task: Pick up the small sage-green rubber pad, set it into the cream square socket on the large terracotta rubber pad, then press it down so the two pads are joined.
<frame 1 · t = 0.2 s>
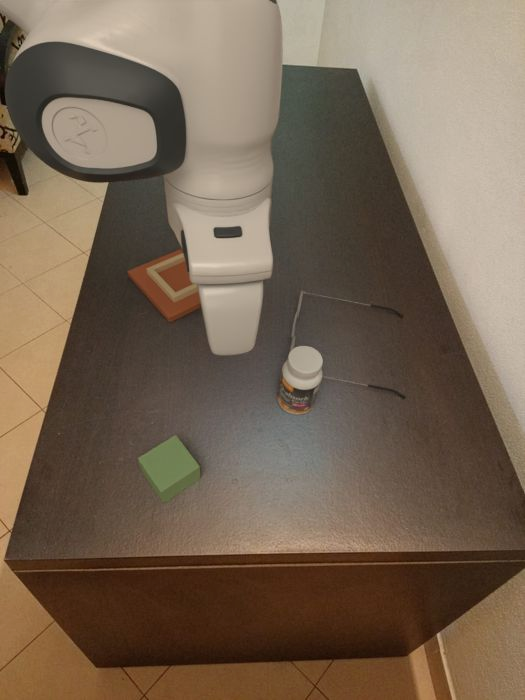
hand: (219, 313, 50), 22 cm above the table, tool pointing down, fingers open, 8 cm apart
eyeglasses: (346, 346, 78), on the table
pill bottle: (295, 400, 70), on the table
green pad: (170, 474, 61), on the table
base pad: (182, 283, 84), on the table
calculator: (202, 142, 117), on the table
supplement box: (230, 222, 97), on the table
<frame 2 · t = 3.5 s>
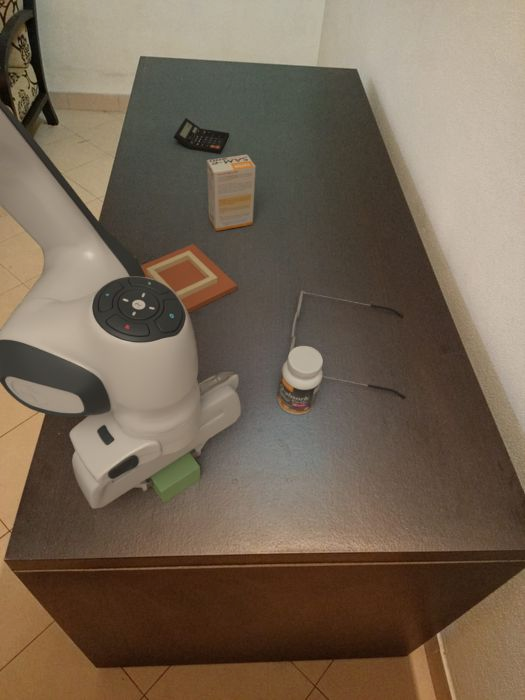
hand: (169, 468, 60), 2 cm above the table, tool pointing down, fingers closed on green pad, 5 cm apart
green pad: (171, 474, 61), on the table, touching gripper
everything else where it was.
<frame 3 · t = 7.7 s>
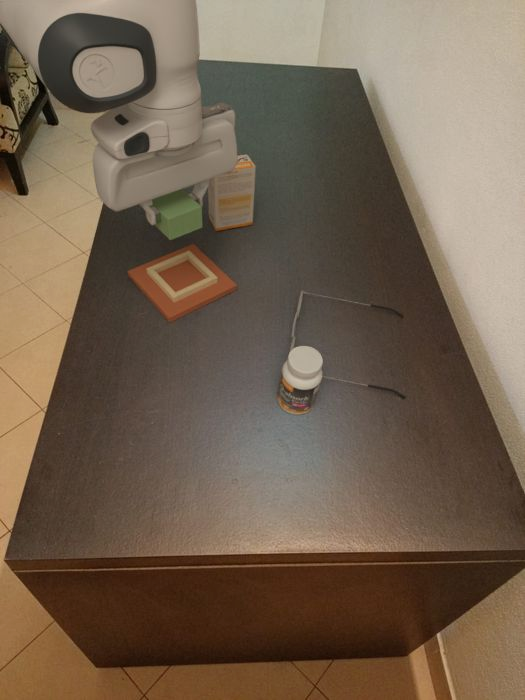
hand: (175, 214, 68), 17 cm above the table, tool pointing down, fingers closed on green pad, 5 cm apart
green pad: (176, 224, 70), point 16 cm above the table, touching gripper
everything else where it was.
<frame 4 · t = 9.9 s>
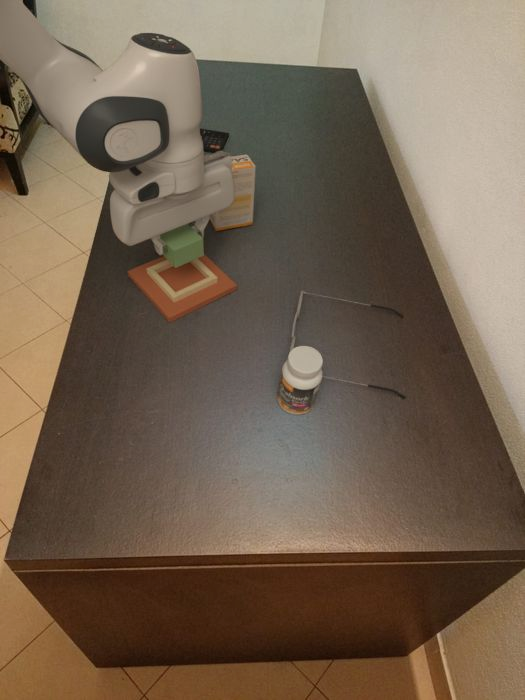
hand: (179, 244, 78), 9 cm above the table, tool pointing down, fingers closed on green pad, 5 cm apart
green pad: (180, 252, 79), point 7 cm above the table, touching gripper
everything else where it was.
when the fingers open (3 cm above the table, at t = 11.8 s): green pad stays where it is, resting on base pad.
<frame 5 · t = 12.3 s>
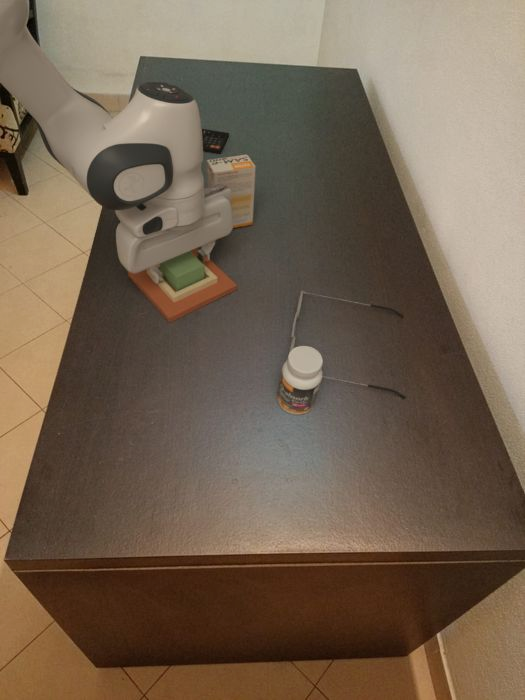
hand: (181, 269, 82), 3 cm above the table, tool pointing down, fingers open, 8 cm apart
green pad: (182, 278, 83), point 1 cm above the table, touching base pad
everything else where it was.
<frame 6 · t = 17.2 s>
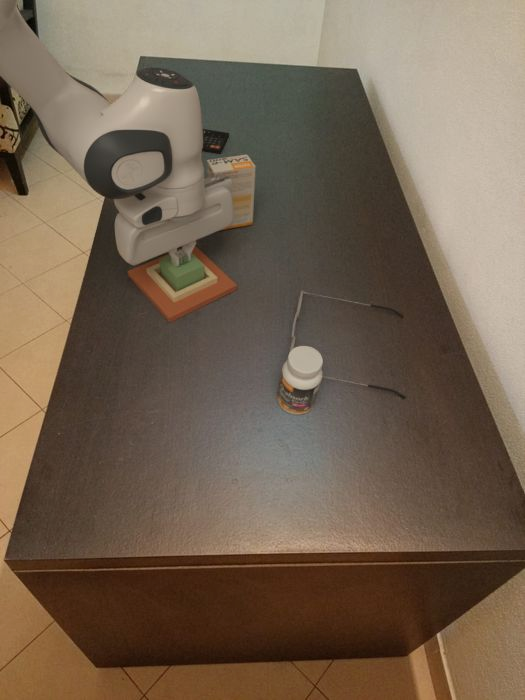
hand: (181, 262, 81), 5 cm above the table, tool pointing down, fingers closed, pressing on green pad
green pad: (182, 278, 83), point 1 cm above the table, touching base pad, gripper
everything else where it was.
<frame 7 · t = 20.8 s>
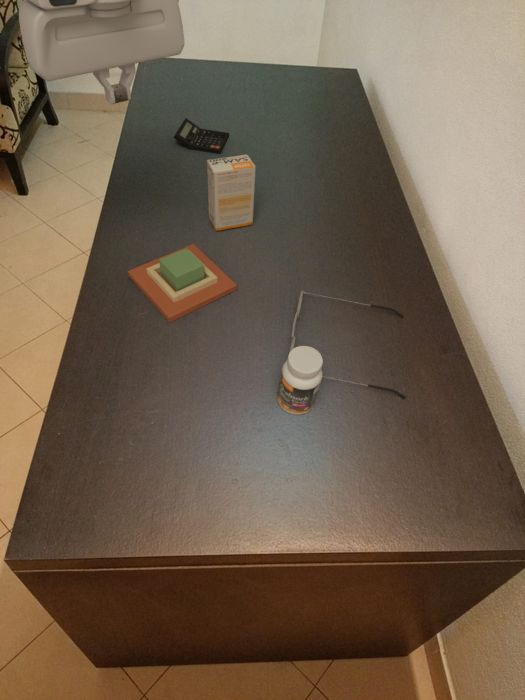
hand: (119, 100, 64), 29 cm above the table, tool pointing down, fingers closed
green pad: (182, 278, 83), point 1 cm above the table, touching base pad
everything else where it was.
at the end: green pad 0.1 cm off-centre on the base pad, point 1.2 cm above the base pad's base; green pad tilted 0°; the gripper is holding nothing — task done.
